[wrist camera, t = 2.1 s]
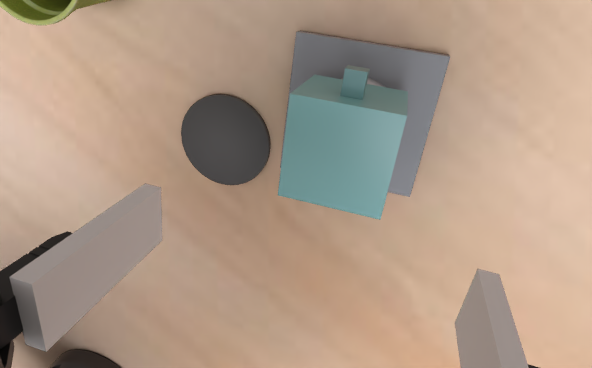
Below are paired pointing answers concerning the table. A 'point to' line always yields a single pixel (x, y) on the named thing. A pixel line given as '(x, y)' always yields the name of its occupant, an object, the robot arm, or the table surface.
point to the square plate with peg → (383, 72)
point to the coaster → (225, 139)
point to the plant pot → (44, 9)
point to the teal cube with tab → (342, 142)
